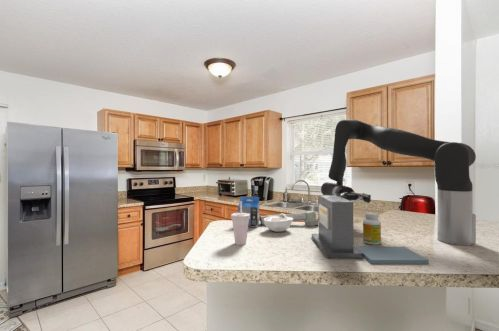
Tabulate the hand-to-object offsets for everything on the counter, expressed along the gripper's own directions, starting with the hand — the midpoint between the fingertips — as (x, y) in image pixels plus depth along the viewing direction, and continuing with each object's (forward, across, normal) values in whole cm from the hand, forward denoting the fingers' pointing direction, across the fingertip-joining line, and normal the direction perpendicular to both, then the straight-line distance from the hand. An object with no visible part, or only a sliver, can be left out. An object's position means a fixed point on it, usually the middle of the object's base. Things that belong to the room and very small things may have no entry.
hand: (357, 199), depth 97 cm
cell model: (-4, -30, +13) cm, 33 cm away
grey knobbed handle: (-13, -24, +14) cm, 31 cm away
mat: (+24, -1, +12) cm, 27 cm away
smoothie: (+12, -44, +13) cm, 47 cm away
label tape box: (-12, -42, +14) cm, 45 cm away
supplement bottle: (+12, 0, +13) cm, 17 cm away
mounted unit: (+16, -14, +12) cm, 25 cm away
